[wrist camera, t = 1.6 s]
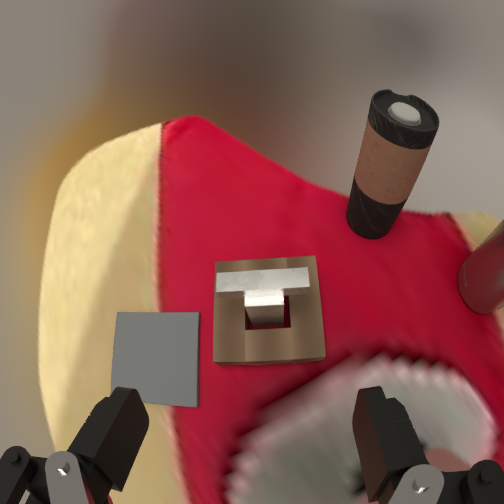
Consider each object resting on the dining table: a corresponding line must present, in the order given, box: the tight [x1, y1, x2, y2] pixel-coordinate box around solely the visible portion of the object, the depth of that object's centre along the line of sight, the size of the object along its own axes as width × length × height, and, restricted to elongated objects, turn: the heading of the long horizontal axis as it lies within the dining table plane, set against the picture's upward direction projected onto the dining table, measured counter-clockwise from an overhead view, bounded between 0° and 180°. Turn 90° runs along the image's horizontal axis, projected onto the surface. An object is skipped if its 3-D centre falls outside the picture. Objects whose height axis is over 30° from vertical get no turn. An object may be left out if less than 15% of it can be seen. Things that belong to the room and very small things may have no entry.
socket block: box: [213, 256, 326, 366], centre depth 34 cm, size 12×12×4 cm
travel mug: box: [346, 89, 439, 239], centre depth 32 cm, size 8×8×20 cm
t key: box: [216, 267, 310, 330], centre depth 30 cm, size 8×4×12 cm, turn 91°
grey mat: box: [111, 312, 200, 407], centre depth 34 cm, size 12×12×1 cm
